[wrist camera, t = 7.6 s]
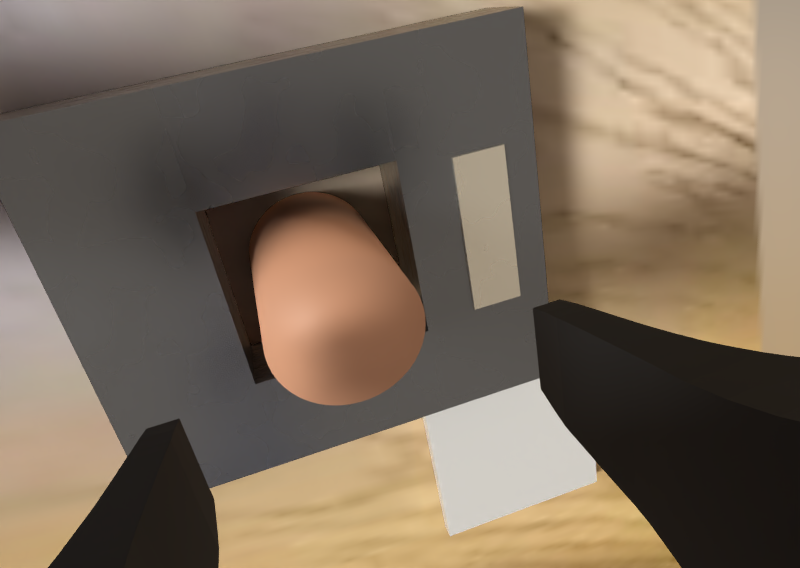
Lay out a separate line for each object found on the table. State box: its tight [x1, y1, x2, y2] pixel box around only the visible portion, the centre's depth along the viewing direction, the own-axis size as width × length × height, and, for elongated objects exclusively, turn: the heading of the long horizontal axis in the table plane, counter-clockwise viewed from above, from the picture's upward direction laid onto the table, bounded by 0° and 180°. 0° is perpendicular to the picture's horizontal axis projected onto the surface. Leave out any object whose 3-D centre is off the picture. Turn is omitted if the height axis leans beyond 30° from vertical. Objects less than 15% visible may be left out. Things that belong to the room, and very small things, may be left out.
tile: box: [423, 378, 597, 536], centre depth 25 cm, size 7×7×1 cm
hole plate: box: [0, 7, 548, 488], centre depth 19 cm, size 12×14×3 cm
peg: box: [249, 192, 426, 405], centre depth 17 cm, size 4×4×6 cm
